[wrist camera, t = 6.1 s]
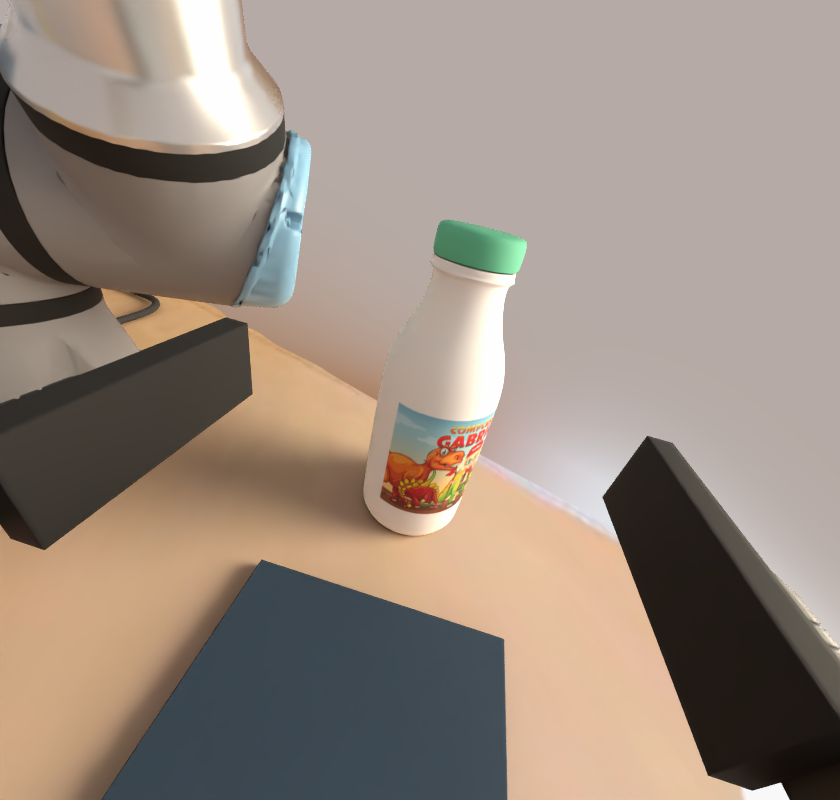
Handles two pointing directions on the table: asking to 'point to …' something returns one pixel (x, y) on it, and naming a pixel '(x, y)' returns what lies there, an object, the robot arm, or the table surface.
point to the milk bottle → (442, 382)
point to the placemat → (328, 704)
